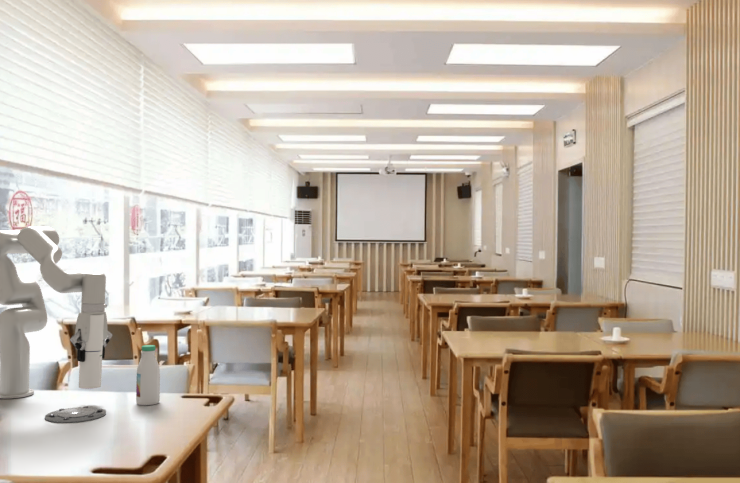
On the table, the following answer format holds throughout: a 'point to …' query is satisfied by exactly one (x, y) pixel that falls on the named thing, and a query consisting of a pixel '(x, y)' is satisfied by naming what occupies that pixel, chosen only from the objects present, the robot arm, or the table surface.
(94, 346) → the cylindrical container
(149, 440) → the table surface
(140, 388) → the milk bottle
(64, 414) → the flange
